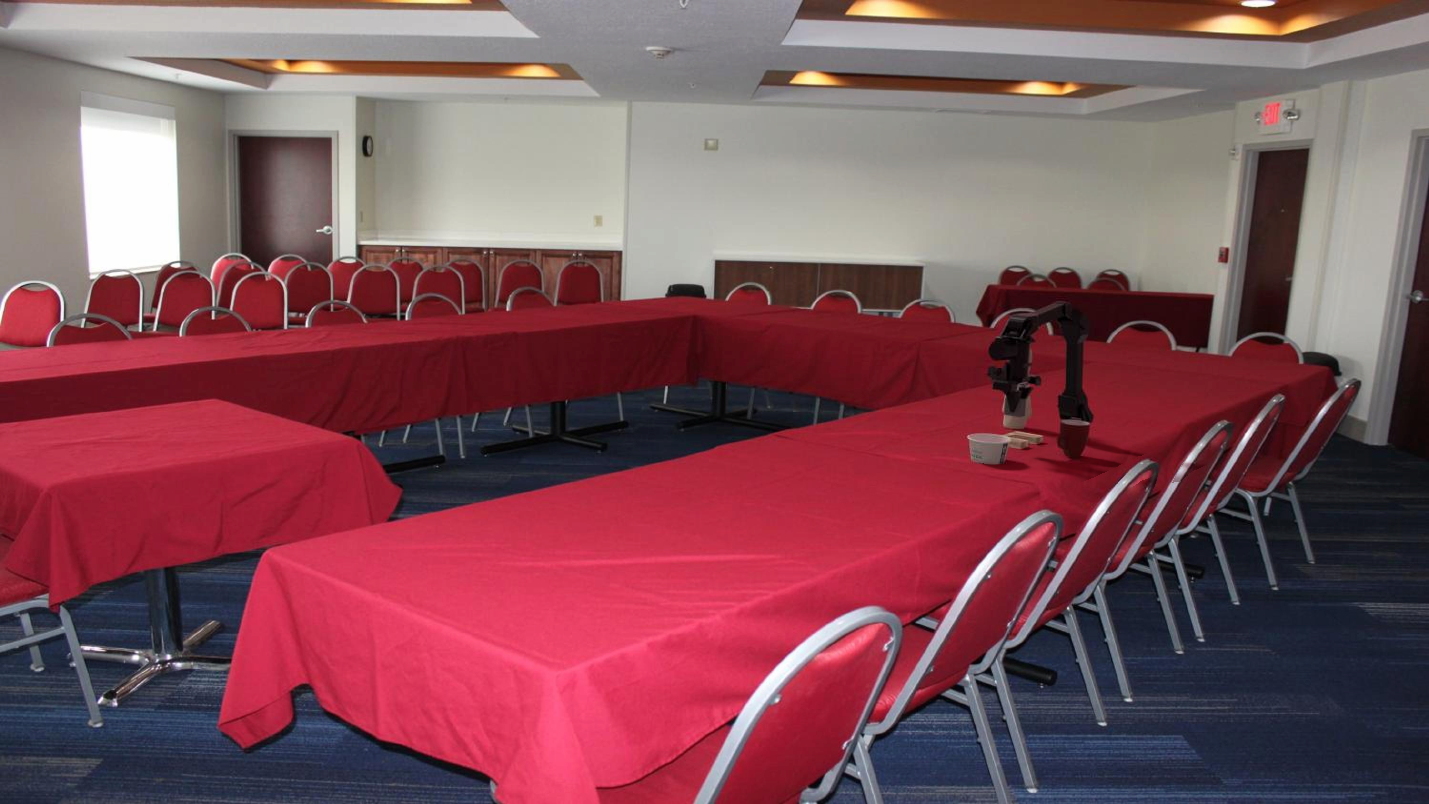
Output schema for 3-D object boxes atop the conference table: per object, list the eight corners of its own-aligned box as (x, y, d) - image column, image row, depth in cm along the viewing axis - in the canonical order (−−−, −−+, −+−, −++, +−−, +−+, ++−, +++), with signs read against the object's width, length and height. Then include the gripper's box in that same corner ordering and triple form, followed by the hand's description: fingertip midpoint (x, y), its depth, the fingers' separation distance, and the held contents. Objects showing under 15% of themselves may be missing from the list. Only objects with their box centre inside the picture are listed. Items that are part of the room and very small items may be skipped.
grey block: (1009, 413, 313) (1010, 396, 312) (1024, 416, 309) (1026, 399, 308) (1004, 414, 311) (1005, 397, 310) (1019, 417, 307) (1021, 400, 306)
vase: (1011, 423, 353) (1018, 333, 347) (1034, 428, 347) (1041, 336, 341) (996, 427, 347) (1003, 335, 342) (1019, 431, 341) (1026, 338, 335)
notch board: (1015, 437, 332) (1016, 431, 331) (1042, 442, 326) (1043, 435, 325) (993, 444, 322) (993, 437, 321) (1020, 449, 316) (1020, 442, 315)
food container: (957, 458, 302) (958, 436, 301) (984, 453, 309) (985, 431, 308) (991, 467, 293) (993, 444, 292) (1018, 462, 300) (1020, 439, 299)
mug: (1072, 462, 301) (1075, 427, 299) (1047, 456, 307) (1049, 422, 305) (1092, 457, 308) (1095, 423, 306) (1067, 451, 314) (1070, 418, 312)
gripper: (1009, 352, 319) (1005, 404, 322) (977, 358, 306) (973, 411, 309) (1044, 357, 311) (1039, 409, 314) (1012, 362, 298) (1008, 417, 301)
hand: (1014, 411), depth 310 cm, fingers closed on grey block, 3 cm apart
